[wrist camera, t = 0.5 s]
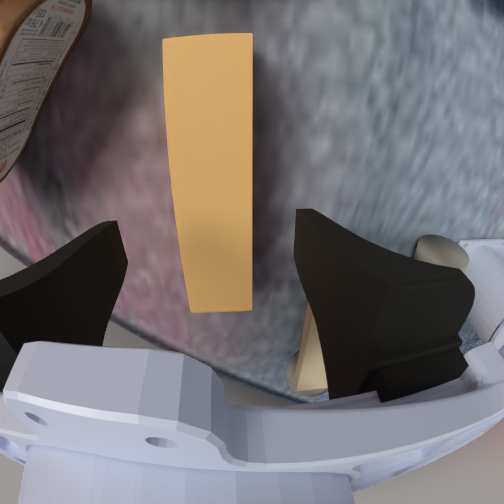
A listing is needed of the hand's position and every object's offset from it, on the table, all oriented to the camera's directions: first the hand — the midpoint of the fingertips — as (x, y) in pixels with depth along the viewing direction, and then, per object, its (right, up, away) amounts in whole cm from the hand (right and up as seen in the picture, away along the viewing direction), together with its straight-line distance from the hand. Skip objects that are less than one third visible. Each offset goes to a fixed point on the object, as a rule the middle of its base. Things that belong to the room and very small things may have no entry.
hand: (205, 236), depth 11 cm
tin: (-12, +11, +2) cm, 17 cm away
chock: (0, +5, +7) cm, 9 cm away
